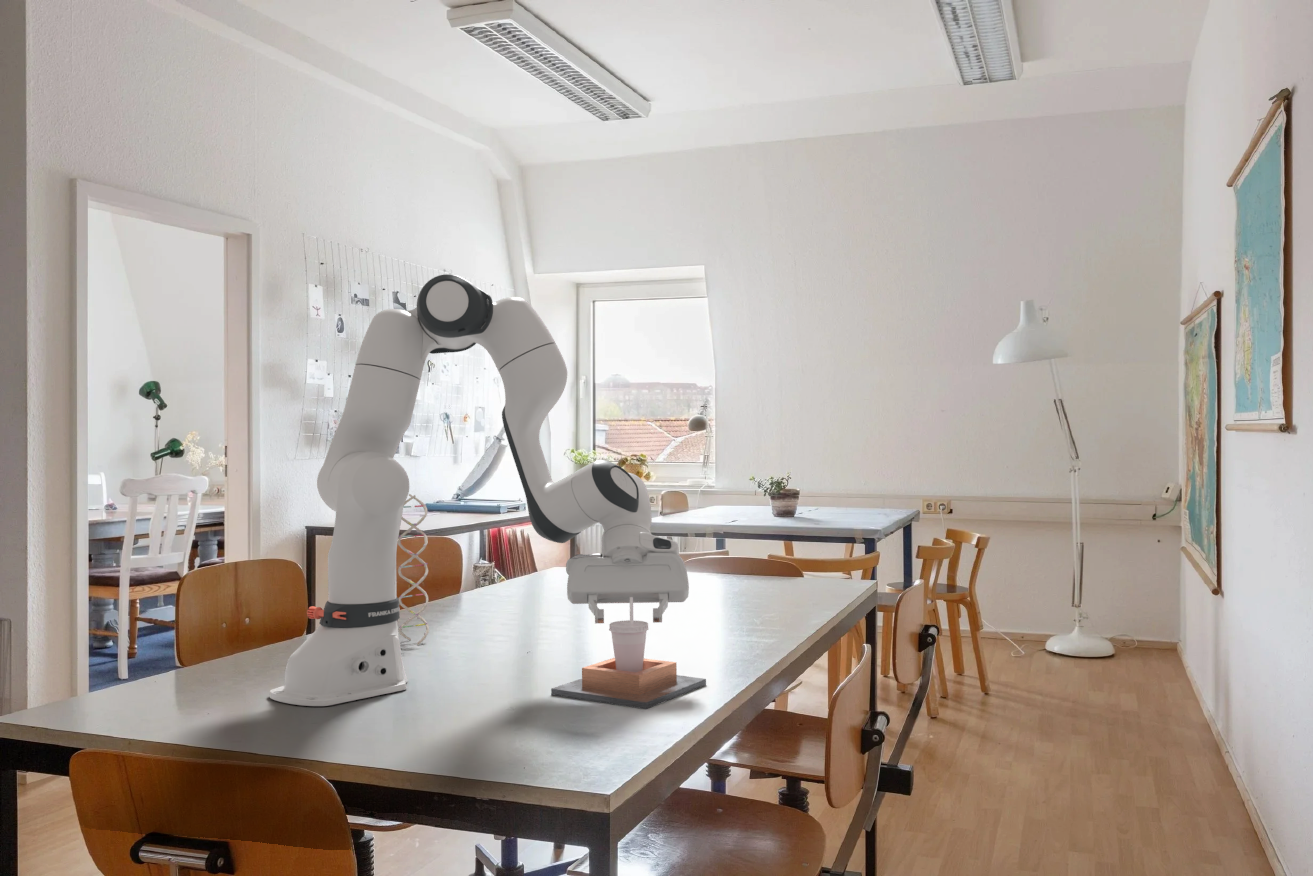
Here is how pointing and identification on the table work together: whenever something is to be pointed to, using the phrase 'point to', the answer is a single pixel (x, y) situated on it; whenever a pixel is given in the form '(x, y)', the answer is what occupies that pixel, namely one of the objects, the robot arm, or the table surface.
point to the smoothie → (629, 642)
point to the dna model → (415, 555)
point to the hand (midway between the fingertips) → (628, 621)
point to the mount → (629, 684)
